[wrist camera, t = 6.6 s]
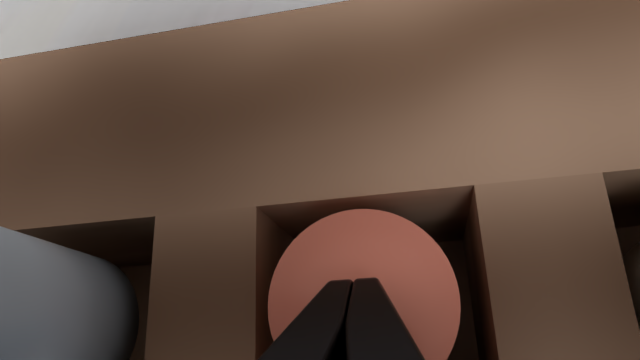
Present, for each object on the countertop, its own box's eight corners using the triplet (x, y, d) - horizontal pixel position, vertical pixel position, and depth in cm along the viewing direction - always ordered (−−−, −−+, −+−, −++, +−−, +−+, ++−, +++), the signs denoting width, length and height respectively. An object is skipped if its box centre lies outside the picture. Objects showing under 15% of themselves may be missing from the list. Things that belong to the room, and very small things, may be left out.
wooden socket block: (854, 420, 13) (1173, 462, 7) (57, 432, 17) (-130, 465, 11) (730, 66, 16) (881, -90, 11) (93, 147, 20) (-37, 65, 15)
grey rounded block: (132, 406, 11) (-29, 428, 7) (-5, 410, 12) (-220, 431, 8) (144, 250, 12) (10, 198, 8) (20, 261, 13) (-158, 217, 9)
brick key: (462, 392, 12) (473, 404, 8) (319, 396, 13) (267, 409, 9) (445, 248, 13) (448, 200, 9) (315, 258, 14) (267, 217, 10)
